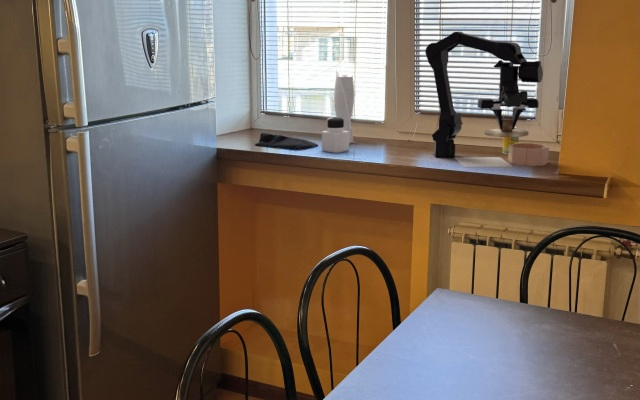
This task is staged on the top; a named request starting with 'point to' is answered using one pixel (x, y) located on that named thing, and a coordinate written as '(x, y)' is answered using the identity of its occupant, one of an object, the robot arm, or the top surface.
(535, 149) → the bowl
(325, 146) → the medicine bottle
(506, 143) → the supplement bottle
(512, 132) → the lid
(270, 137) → the crumpled black cloth
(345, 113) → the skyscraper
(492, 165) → the mat
